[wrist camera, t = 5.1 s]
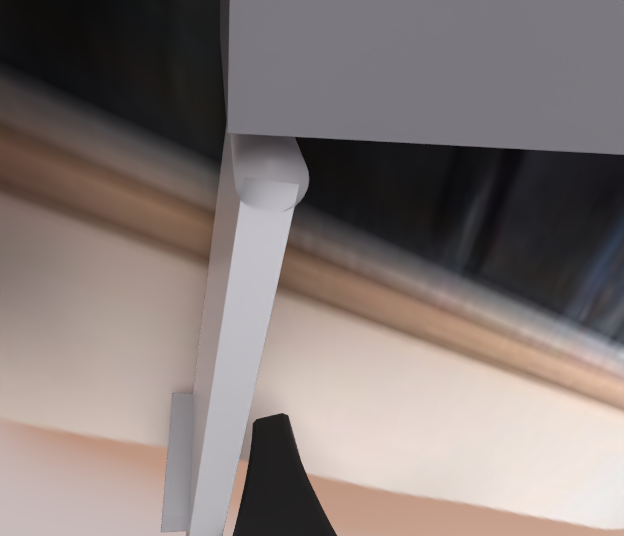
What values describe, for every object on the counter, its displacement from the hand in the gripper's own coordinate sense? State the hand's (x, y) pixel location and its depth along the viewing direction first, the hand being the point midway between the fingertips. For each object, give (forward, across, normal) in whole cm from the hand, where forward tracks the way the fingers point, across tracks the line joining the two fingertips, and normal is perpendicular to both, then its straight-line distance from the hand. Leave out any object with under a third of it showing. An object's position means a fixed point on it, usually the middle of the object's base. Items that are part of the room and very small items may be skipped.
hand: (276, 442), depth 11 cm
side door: (+2, 0, -4) cm, 4 cm away
